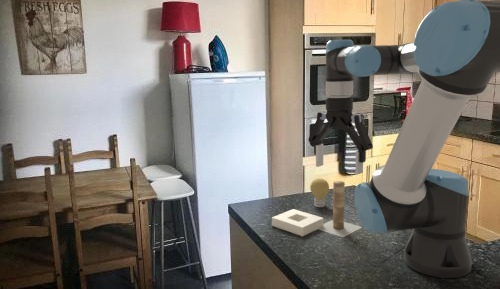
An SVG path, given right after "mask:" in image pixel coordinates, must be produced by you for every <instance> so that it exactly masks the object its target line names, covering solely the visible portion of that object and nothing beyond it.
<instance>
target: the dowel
mask: <svg viewBox="0 0 500 289" xmlns="http://www.w3.org/2000/svg"><path fill="white" fill-rule="evenodd" d="M332 184H333V186H332V187H333V189H332V190H333V198H332V199H333V200H332V204H333V206H332V220H333V228H334V229H337V230H342V229H344V222H345V185H346V184H345V181H341V180H336V181H333V182H332Z"/></svg>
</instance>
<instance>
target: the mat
mask: <svg viewBox="0 0 500 289" xmlns="http://www.w3.org/2000/svg"><path fill="white" fill-rule="evenodd" d="M362 228H363V226H360V225H357V224H353V223H349V222H346V221H344V229H342V230H337V229H334V228H333V219H331V220H329V221H327V222H324V226H323V227H321V228H319V229H318V230H319V231H322V232H324V233H328V234H331V235H334V236H338V237H341V238H345V237H347V236H349V235H350V234H352V233H354V232H356V231H357V230H360V229H362Z"/></svg>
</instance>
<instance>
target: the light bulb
mask: <svg viewBox="0 0 500 289" xmlns="http://www.w3.org/2000/svg"><path fill="white" fill-rule="evenodd" d="M309 189H310V192H311V193H312V195H313V196H314V197H313V198H314V199H313V200H314V201H313V202H314V203H313V205H314V207H316V208H324V207H325V206H326V195H328V193H329V190H330V184H329V183H328V181H327V180H325V179H323V178H320V177H319V178H314V180H312V182H311V183H310V186H309Z"/></svg>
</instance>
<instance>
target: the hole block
mask: <svg viewBox="0 0 500 289" xmlns="http://www.w3.org/2000/svg"><path fill="white" fill-rule="evenodd" d="M324 224H325V222H324V217H321V216H319V215H314V214H311V213H308V212H304V211H301V210H298V209H294V208H292V209H290V210H287V211H284V212H282V213H279V214H277V215H275V216H272V217H271V225H272V227H275V228H277V229H281V230H284V231H287V232H290V233H292V234H294V235H297V236H301V237H304V236H307V235H308V234H310V233H312V232H314V231H317V230H319V228H321V227H323V226H324Z"/></svg>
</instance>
